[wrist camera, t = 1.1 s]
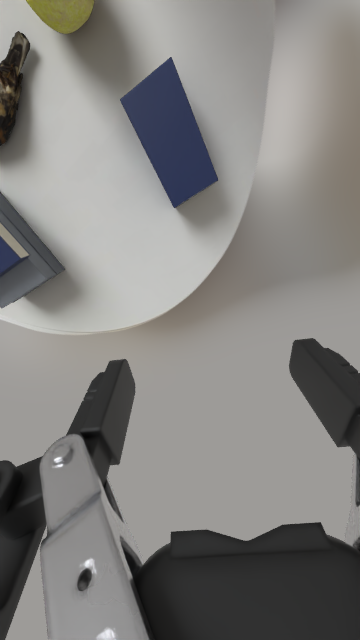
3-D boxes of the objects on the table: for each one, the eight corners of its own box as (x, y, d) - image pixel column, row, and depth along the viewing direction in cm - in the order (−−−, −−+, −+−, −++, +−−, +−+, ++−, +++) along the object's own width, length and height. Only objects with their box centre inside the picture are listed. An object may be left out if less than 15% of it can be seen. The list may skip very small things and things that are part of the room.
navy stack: (174, 207, 29) (174, 208, 25) (128, 115, 24) (119, 99, 21) (213, 183, 28) (218, 180, 24) (172, 80, 23) (171, 55, 19)
